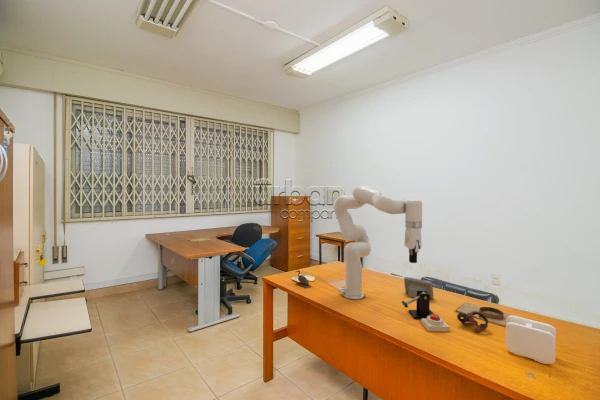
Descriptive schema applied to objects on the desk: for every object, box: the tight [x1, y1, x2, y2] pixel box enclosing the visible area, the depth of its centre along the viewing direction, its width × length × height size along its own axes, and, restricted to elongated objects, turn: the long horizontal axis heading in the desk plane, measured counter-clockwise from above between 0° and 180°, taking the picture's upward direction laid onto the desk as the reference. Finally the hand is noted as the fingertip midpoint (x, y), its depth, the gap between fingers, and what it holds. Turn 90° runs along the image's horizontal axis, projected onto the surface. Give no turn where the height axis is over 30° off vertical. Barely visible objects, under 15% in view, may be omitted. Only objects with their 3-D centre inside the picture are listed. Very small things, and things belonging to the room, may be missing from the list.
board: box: [455, 302, 512, 328], centre depth 140 cm, size 25×15×3 cm, turn 41°
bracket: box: [408, 290, 435, 320], centre depth 140 cm, size 11×8×12 cm
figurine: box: [295, 270, 312, 289], centre depth 186 cm, size 14×4×9 cm, turn 38°
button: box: [431, 313, 440, 321], centre depth 128 cm, size 4×4×2 cm
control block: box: [420, 315, 450, 333], centre depth 128 cm, size 9×8×4 cm
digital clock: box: [403, 276, 435, 299], centre depth 165 cm, size 16×9×11 cm, turn 39°
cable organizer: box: [504, 314, 557, 365], centre depth 107 cm, size 15×11×12 cm
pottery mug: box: [456, 311, 489, 333], centre depth 127 cm, size 12×10×8 cm
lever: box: [401, 292, 425, 309], centre depth 140 cm, size 12×5×2 cm, turn 88°
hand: (412, 262), depth 137 cm, fingers closed
